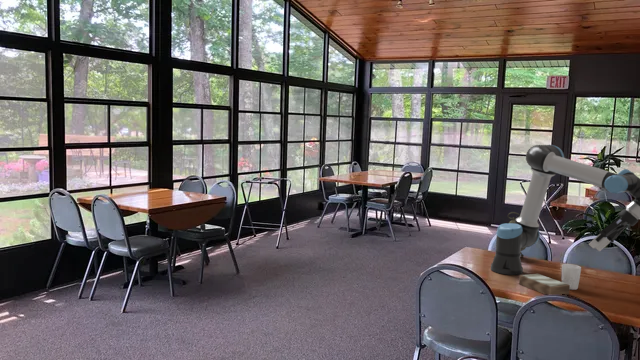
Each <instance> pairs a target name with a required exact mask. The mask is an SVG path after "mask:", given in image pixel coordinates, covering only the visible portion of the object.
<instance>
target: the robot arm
mask: <svg viewBox="0 0 640 360" xmlns="http://www.w3.org/2000/svg"><path fill="white" fill-rule="evenodd" d="M525 154H526V155H525V160H526V163H527V165H529V167H530V170H531V172H532V175H531V177H530V178H531V179H530V182H529V186H528V188H527V192H526V195H525V198H524V202H523V205H522V208H521V210H520V211H521V212H520V216H518V217H516V218H515V219H516V220H515V223H509V222H508V223H501V224H499V225H498V226H497V228H496V243H495V255H494V257H493V259H492V262H491V264H490V270H491V271H492V272H494V273H497V274H501V275H507V276H508V275H509V276H517V275H518V276H521V275H523V273H524V271H523V270H524V268H523V266H522V265H523V264H522V260H521V254H520V252H521V253H522V251H521V248H524V247H526V248H530V247H532V246H534V245H536V244H537V243H538V241H539V240H540V236H541V233H540V230H539V227H540V224H539V223H538V220H539V217H540V214H541V211H542V209H543V208H542V207H543V204H544V201H545V197H546V194H547V191H548V188H549V185H550V182H551V179H552V177H554V176H556V174H559V175H561V176H565V177H568V178H571V179H574V180H577V181H580V182H583V183H586V184H590V185H593V186H596V187H599V188H602V189H605V190H606V191H607V192H609V193H611V194H622V193H628V194H629V195H630V196H632V197H633V198H634V199H633V200H632V201H631V202H629V203H628V204H627V205H626V206H625V208H623V209H621V210H620V212H618V214H617V215H618V216H619V217H618V218H616V219H615V220H614V221H613V222H611V223H610V224H608V225H607V226H606V227H604V228H603V229H602V230H599V231H598V233H599V234H597V236H595V237H594V238H593V239H592V240H591V241H590V242H589V243H588V245H589V246H590V247H591V248H592V249H594V250H595V249H596V250H597V251H598V252H601V251H602V250H603V249H604V248H605V247H607V246H608V245H609V244H611V243H612V244H613V243H614V242H615V240H616V238H618V237H619V235H620V234H622V232H623V231H624V230H625V229H626V228H628V225H630V226H631V227H634V226H635V225H636V224H637V223H639V220H640V177H639V176H638V175H637V174H635V173H634V172H633V171H630V170H629V169H627V168H625V169H623V170H620V171H618V173H614V172H612V171H608V170H605V169H602V168H598V167H595V166H592V165H590V164H585V163H582V162H579V161H577V160H572V159H569V158H566V157H565V155H564V152H563V150H562V149H561V148H560V147H558V146H556V145H553V144H536V145H533V146H531V147H530V148H529V149H528V150H527V152H526V153H525Z"/></svg>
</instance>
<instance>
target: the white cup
mask: <svg viewBox="0 0 640 360" xmlns="http://www.w3.org/2000/svg"><path fill="white" fill-rule="evenodd" d="M581 272H582V267H581V266H579V264H578V265H577V264H573V263H563V264H561V282H563V283H566V284H568V285H570V289H569V290H571V291H572V290H574V291H575V290H578V288H579V283H580V278H581Z"/></svg>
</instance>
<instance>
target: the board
mask: <svg viewBox="0 0 640 360" xmlns="http://www.w3.org/2000/svg"><path fill="white" fill-rule="evenodd" d="M518 280H519V281H518V285H520V286H523V287H526V288H528V289H530V290H534V291H535V292H538V293H541V294H544V295H545V294H565V295H570V290H571V289H570V285H568V284H566V283H563V282H562V281H560V280H557V279H554V278H551V277H548V276H545V275H543V274H540V273H533V274H520V275H519V279H518Z"/></svg>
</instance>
